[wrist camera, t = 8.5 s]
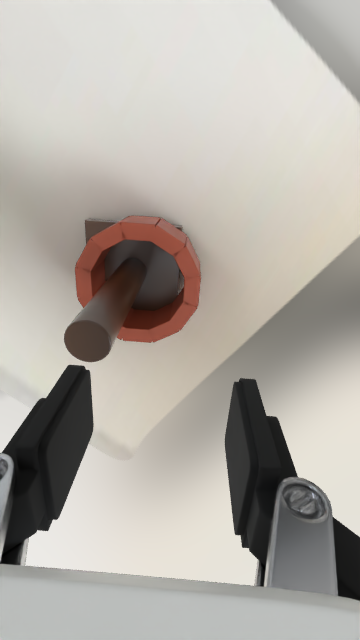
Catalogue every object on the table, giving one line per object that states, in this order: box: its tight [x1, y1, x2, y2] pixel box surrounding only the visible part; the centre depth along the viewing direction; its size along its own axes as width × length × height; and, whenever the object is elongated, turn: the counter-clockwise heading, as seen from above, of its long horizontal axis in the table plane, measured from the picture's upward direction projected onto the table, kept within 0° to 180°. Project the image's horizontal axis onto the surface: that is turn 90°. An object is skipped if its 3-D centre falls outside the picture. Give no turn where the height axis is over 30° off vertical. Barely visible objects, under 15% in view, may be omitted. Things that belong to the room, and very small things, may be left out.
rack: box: [64, 219, 182, 362], centre depth 22 cm, size 8×8×14 cm
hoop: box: [75, 216, 201, 343], centre depth 26 cm, size 9×9×4 cm
